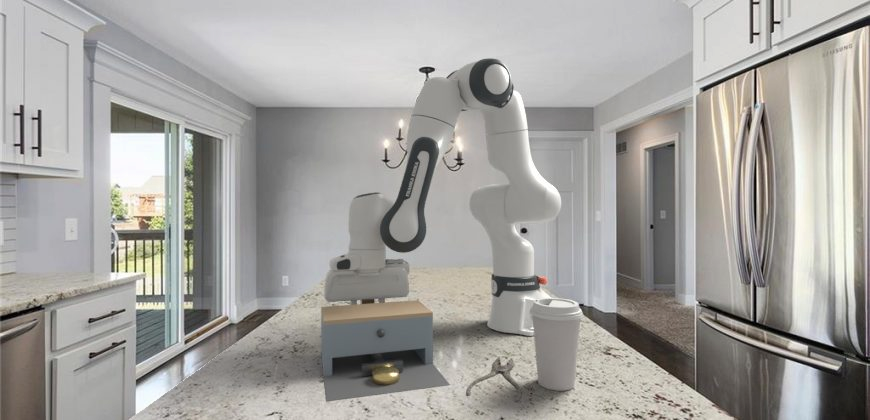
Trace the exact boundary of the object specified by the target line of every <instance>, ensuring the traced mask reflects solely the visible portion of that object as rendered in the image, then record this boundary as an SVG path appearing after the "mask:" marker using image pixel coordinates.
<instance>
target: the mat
mask: <svg viewBox="0 0 870 420" xmlns="http://www.w3.org/2000/svg"><path fill="white" fill-rule="evenodd" d="M381 355H382V357H383V359H384V361H390V360H399V359H402V360H403V372H399V381H398V382H397V383H395V384H393V385H387V386H381V385H376V384H374V383H373V382H372V375H369V376H362V374H361V364H363V363H372V359H371V357H370V355H369V354H364V355H354V356H345V357H335V358H332V375H330V376H324V375H323V381H324V390H325V391H324V392H325V401H326V402H333V401H341V400H348V399H355V398H364V397H371V396H378V395H379V396H380V395H386V394H392V393H393V394H394V393H401V392H408V391H410V392H411V391H415V390H422V389H423V390H424V389H431V388H439V387H446V386H447V387H448V386H450V385H451V383H449V380H447V378H445V376H444V375H443V374H442V373H441V372H440V371H439V369H438V368H437V367H436V366H435V364H434V363H433V364H425V363H424V362H423V361H422V359H421V358H420V357H419V355H418V354H417V353H416V351H415V350H414V349H412V350H403V351H393V352H383V353H381Z"/></svg>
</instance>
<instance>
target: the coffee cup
mask: <svg viewBox="0 0 870 420" xmlns="http://www.w3.org/2000/svg"><path fill="white" fill-rule="evenodd" d="M530 314H531V315H532V318H533V329H534V335H533V336H534V337H533V338H534V350H535V362H536V372H537V373H536V374H537V375H536V376H537V383H538V385H540V386H541V387H543V388H545V389H548V390H550V391H556V392H557V391H560V392H562V391H564V392H565V391H569V390H572V389H574V387H575V382H576V371H577V363H578V362H577V361H578V360H577V359H578V347H579V337H580V329H581V319H582V318H584V312H583V311H582V309H581V308H580V304H579V302H577V301H574V300H572V299H569V298H568V299H567V298H559V297H552V298H541V299H537V300H535V301H534V304H533V306H532V307H531V309H530Z"/></svg>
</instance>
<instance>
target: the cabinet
mask: <svg viewBox="0 0 870 420" xmlns="http://www.w3.org/2000/svg"><path fill="white" fill-rule="evenodd" d="M320 310H321V311H320V313H321V315H320V316H321V317H320V325H321V327H320V329H321V331H320V334H321V335H320V336H321V343H320V345H321V346H320V347H321V349H320V350H321V351H320V354H321V364H322V372H323V377H324V376H330V375H332V358H335V357H345V356H354V355H364V354H374V353H383V352H393V351H403V350H412V349H414V350H415V351H416V353H417V354H418V355H419V357H420V358H421V359H422V361H423V362H424V363H425V364H434V342H433V341H434V327H433V326H434V320H433V319H434V315H433V313H434V312H433V311H432V310H430V309H429V308H428V307H427V306H426V305H425V304H423V303H422V302H421V301H419V300H418V299H415V300H403V301H402V300H401V301H389V302H386V301H385V303H379V302H375V303H371V304H360V303H359V304H358V303H357V305H355V304H354V305H351V304H346V305H345V304H344V305H333V306H331V305H330V306H328V305H327V306H320Z"/></svg>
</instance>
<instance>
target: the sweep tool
mask: <svg viewBox="0 0 870 420" xmlns="http://www.w3.org/2000/svg"><path fill="white" fill-rule="evenodd" d="M371 303H376V302H375V299H368V300H359V304H371ZM369 355H370V357H371V359H372V363H363V364H361V374H362V376H369V375H372V372H373V370H375V369H377V368H380V367H394V368H397V369H398V370H399V372H403V360H402V359H399V360H390V361H384V359H383V357H382V355H381V353H374V354H369Z"/></svg>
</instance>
